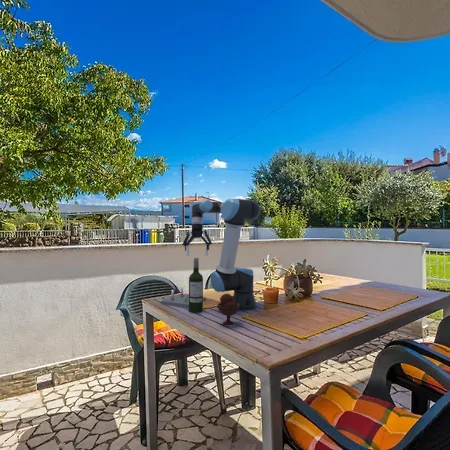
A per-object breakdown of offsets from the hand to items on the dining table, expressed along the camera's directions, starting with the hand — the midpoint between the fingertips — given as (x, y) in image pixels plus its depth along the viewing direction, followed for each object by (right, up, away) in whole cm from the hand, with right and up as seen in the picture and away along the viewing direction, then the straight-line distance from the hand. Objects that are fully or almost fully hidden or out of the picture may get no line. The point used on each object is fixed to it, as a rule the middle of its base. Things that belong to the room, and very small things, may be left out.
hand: (196, 255), depth 192 cm
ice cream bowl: (+20, -29, -50) cm, 61 cm away
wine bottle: (+2, -29, -28) cm, 40 cm away
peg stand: (-7, -28, -9) cm, 31 cm away
